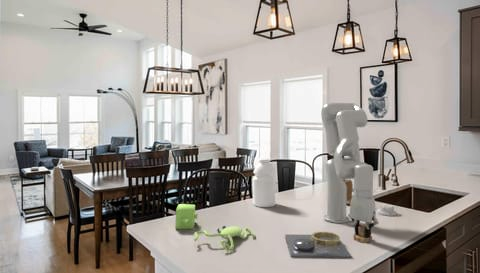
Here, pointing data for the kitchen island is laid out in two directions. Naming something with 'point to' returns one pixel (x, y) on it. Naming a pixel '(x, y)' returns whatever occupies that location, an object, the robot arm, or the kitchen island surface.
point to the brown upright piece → (348, 190)
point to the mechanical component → (386, 210)
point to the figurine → (227, 234)
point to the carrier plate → (316, 245)
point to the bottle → (264, 184)
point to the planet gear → (362, 235)
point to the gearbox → (185, 216)
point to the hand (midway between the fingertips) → (362, 235)
